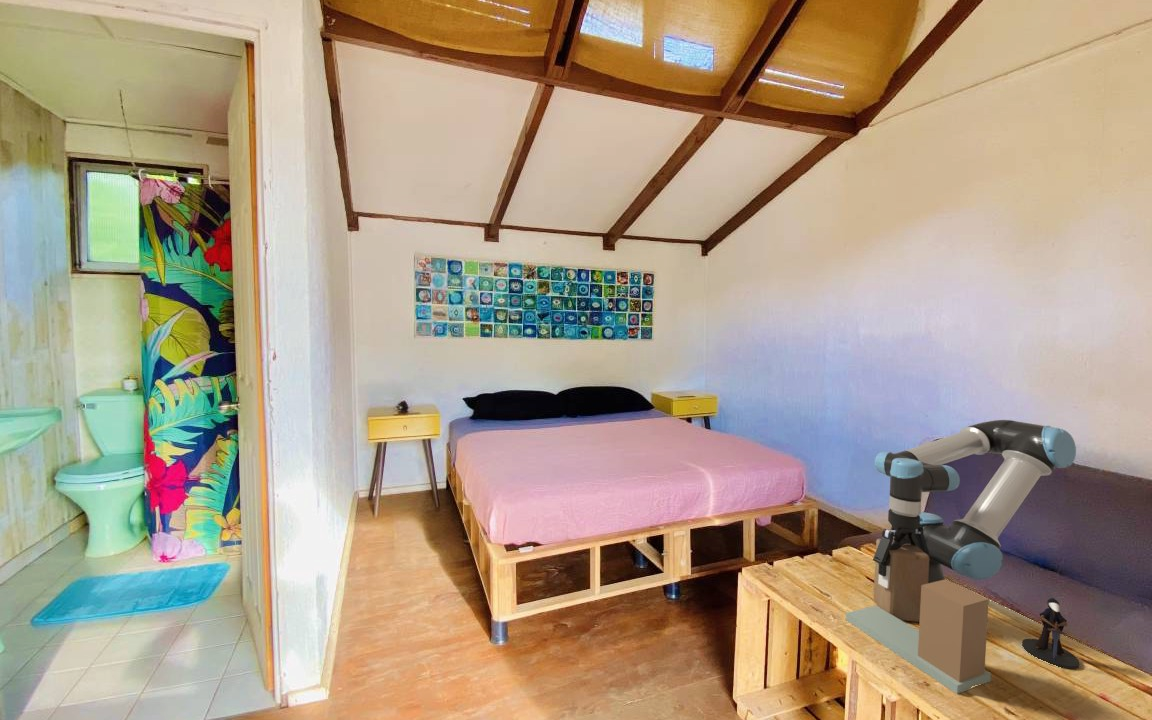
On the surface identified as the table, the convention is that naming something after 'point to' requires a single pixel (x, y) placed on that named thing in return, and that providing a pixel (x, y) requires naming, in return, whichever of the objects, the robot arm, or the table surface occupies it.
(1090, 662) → the table surface
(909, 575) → the wooden block
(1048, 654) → the figurine
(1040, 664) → the table surface
